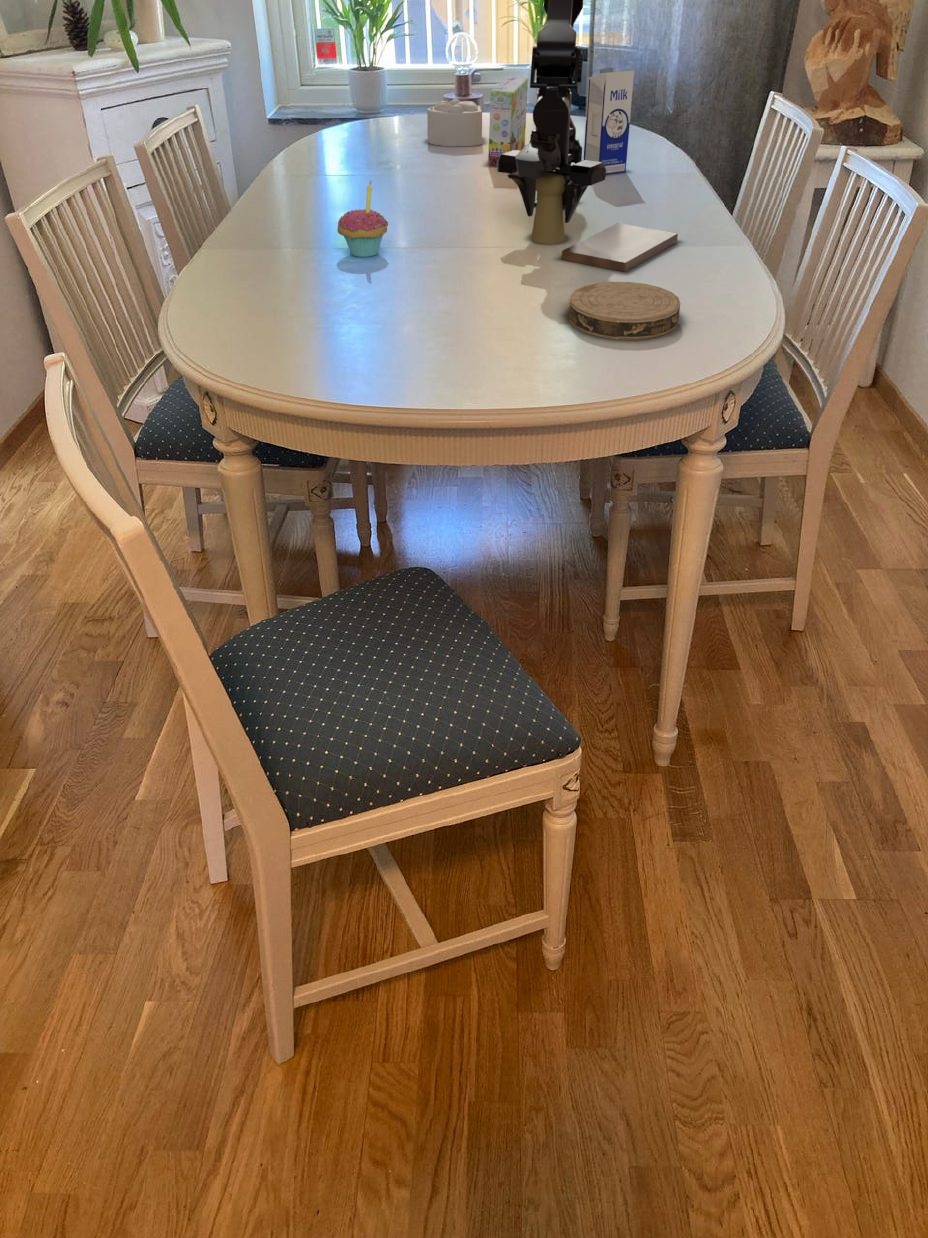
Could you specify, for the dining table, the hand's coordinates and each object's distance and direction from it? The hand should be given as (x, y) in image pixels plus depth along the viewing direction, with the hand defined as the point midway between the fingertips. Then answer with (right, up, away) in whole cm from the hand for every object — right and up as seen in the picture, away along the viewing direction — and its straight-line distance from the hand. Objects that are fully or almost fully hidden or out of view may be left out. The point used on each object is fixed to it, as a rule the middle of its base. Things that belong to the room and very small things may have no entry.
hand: (548, 219), depth 183 cm
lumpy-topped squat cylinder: (-17, +45, +68) cm, 83 cm away
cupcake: (-32, -8, -4) cm, 33 cm away
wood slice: (+8, -27, -31) cm, 42 cm away
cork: (0, -3, +2) cm, 4 cm away
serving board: (+12, -7, -4) cm, 14 cm away
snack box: (-5, +36, +55) cm, 66 cm away
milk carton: (+16, +27, +44) cm, 54 cm away
